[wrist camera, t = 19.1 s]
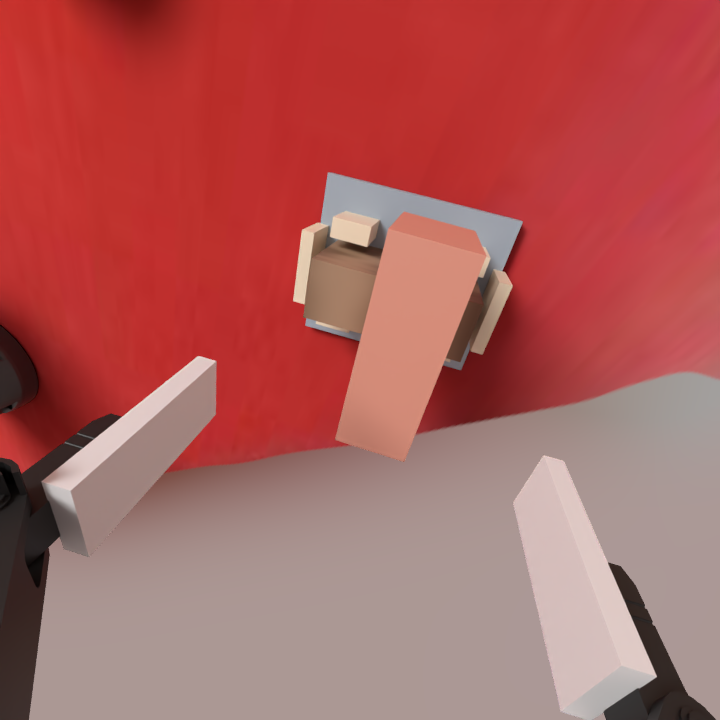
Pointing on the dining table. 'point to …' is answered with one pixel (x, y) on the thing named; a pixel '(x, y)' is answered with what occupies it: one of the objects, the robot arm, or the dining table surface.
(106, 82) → the dining table surface
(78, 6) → the dining table surface
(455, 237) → the salmon pink block
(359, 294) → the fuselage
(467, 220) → the jig
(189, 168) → the dining table surface
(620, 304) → the dining table surface
